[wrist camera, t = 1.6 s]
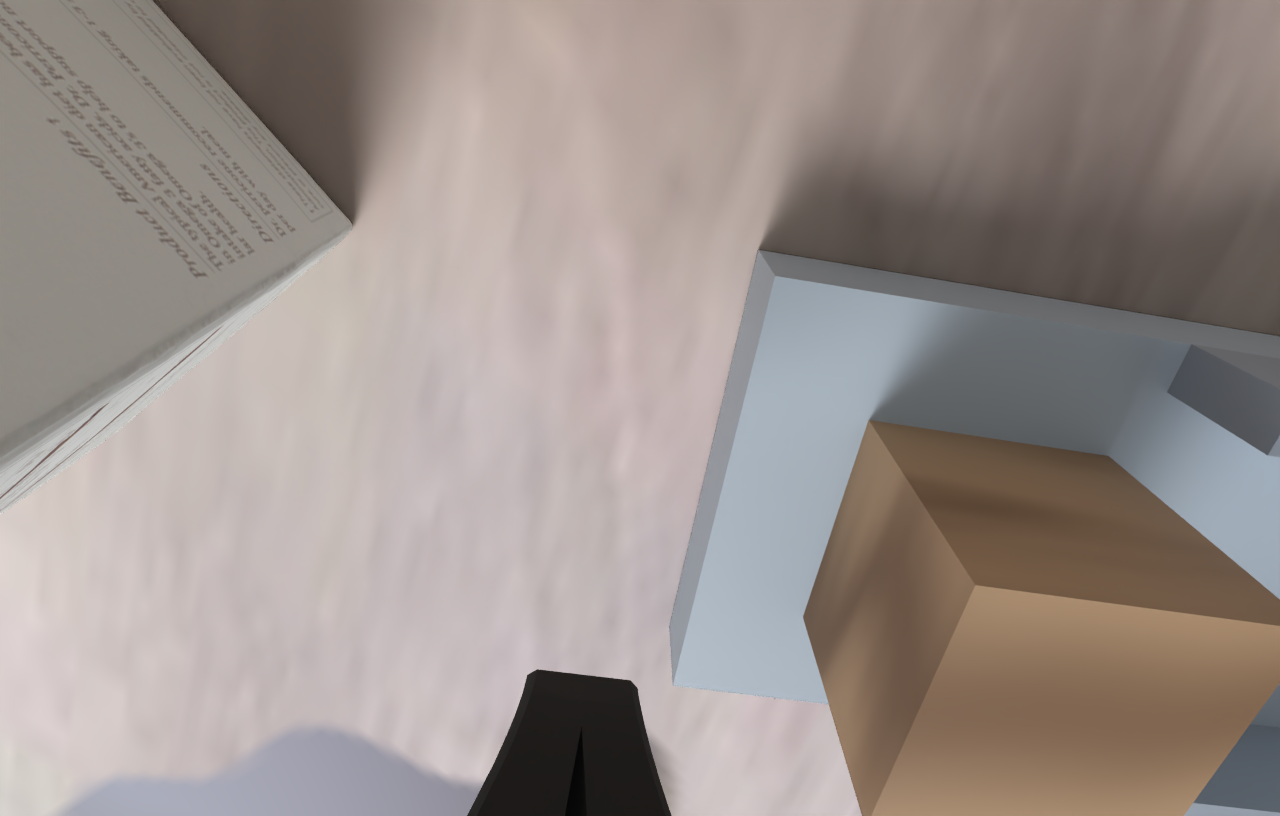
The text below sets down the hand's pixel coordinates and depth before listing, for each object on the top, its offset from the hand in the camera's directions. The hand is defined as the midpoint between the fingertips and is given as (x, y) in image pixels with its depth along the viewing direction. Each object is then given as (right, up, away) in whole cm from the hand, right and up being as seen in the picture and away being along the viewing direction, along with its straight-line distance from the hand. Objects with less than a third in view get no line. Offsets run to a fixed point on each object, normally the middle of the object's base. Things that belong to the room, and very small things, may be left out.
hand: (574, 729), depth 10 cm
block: (+7, +1, +6) cm, 10 cm away
